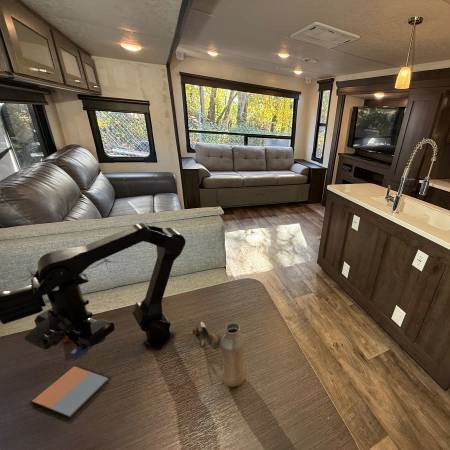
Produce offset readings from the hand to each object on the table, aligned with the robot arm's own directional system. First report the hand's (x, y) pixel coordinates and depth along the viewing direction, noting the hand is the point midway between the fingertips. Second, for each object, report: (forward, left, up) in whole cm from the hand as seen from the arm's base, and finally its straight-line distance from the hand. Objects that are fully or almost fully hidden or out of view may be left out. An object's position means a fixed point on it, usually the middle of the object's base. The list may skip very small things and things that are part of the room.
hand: (83, 347), depth 66 cm
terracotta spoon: (+15, -9, -10) cm, 20 cm away
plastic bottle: (-39, -11, -10) cm, 41 cm away
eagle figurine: (-24, -20, -10) cm, 32 cm away
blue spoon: (0, -1, -1) cm, 2 cm away
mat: (0, +5, -10) cm, 11 cm away
